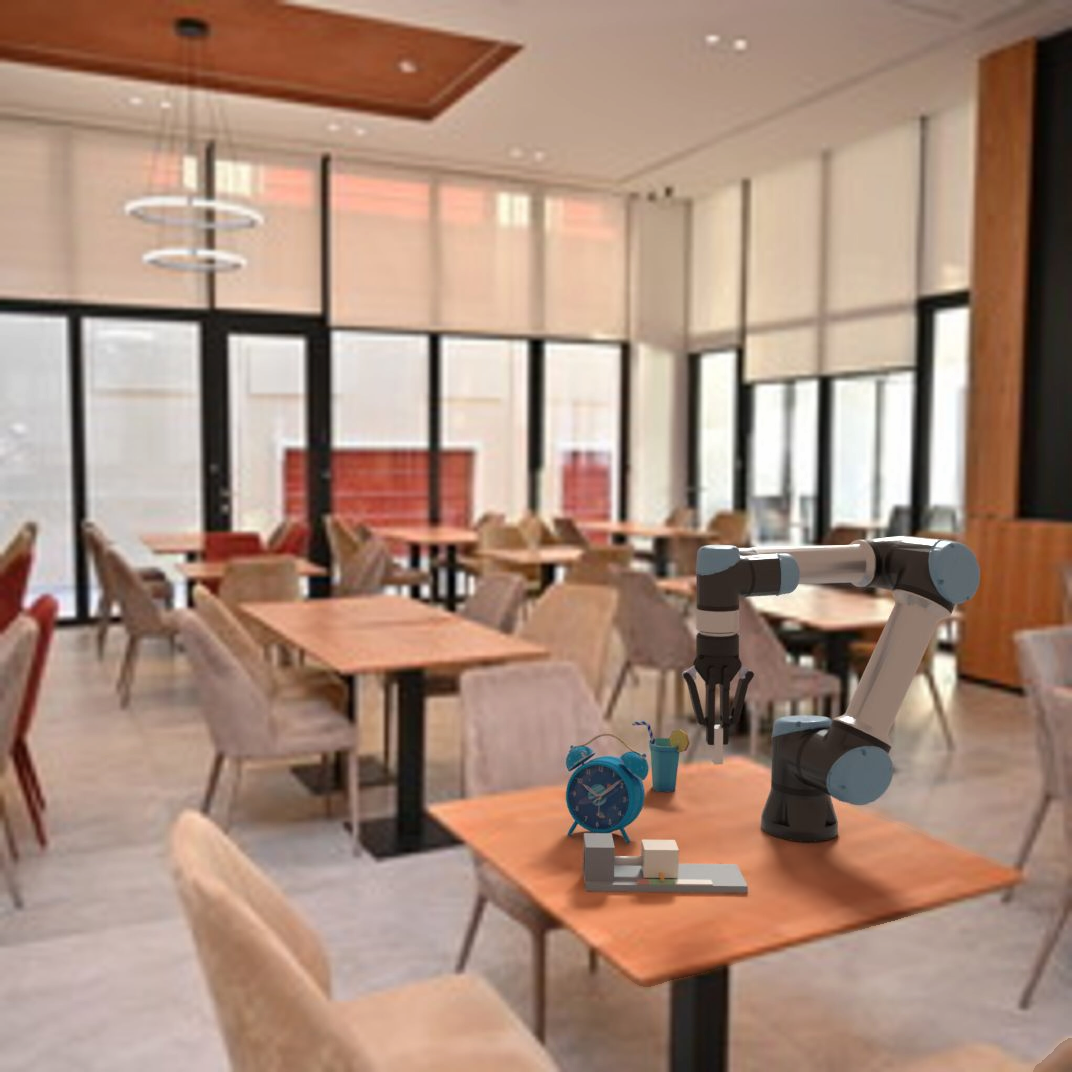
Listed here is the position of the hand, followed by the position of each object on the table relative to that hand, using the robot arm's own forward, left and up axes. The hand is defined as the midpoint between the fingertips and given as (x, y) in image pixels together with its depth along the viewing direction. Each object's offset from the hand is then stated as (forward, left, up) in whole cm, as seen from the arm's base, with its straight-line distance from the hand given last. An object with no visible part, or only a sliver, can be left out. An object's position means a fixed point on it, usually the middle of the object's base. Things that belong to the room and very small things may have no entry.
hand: (717, 762), depth 191 cm
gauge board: (+10, +4, -20) cm, 23 cm away
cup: (+4, -49, -21) cm, 53 cm away
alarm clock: (+19, -18, -21) cm, 33 cm away
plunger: (+14, +5, -19) cm, 24 cm away
